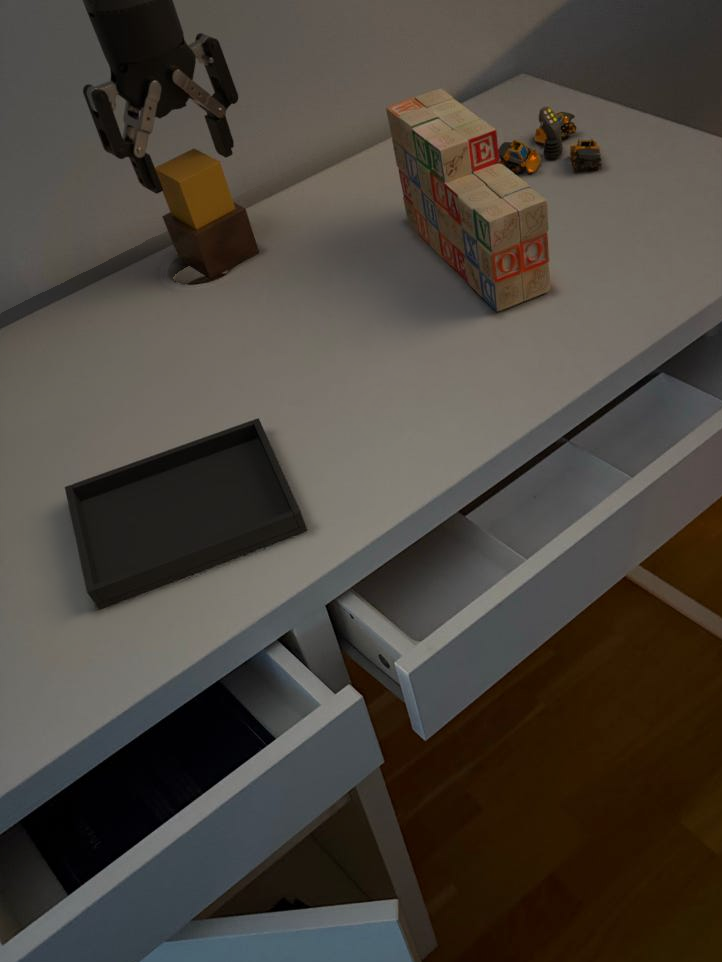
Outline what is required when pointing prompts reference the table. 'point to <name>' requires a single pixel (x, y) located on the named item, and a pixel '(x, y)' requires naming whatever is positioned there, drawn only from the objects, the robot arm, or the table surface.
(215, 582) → the table surface
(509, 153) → the toy set
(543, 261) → the stack of blocks
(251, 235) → the base block
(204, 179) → the top cube
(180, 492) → the tray
